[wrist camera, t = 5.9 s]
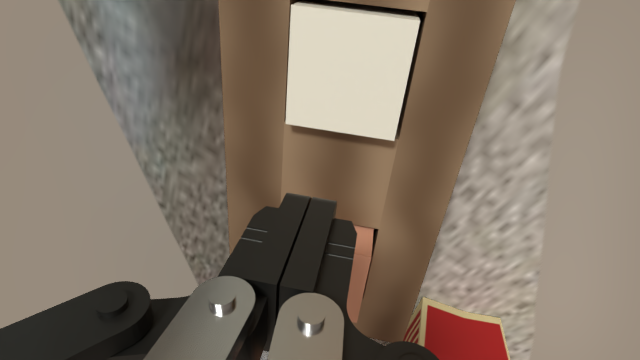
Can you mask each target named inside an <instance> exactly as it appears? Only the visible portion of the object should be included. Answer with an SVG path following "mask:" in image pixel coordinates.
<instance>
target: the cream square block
mask: <svg viewBox="0 0 640 360" xmlns="http://www.w3.org/2000/svg"><path fill="white" fill-rule="evenodd" d="M419 24H420V19H419V16H418V14H417V12H416V11H413V10H405V9H396V8H388V7H380V6H371V5H363V4H355V3H347V2H338V1H330V0H302V1H299V2H297V3H294V4H292V5H291V17H290V38H289V60H288V81H287V102H286V124H289V125H296V126H302V127H308V128H315V129H321V130H327V131H334V132H340V133H347V134H353V135H359V136H366V137H372V138H378V139H385V140H391V141H394V140H395V135H396V131H397V126H398V122H399V117H400V112H401V108H402V103H403V98H404V94H405V89H406V85H407V80H408V75H409V71H410V66H411V61H412V57H413V52H414V47H415V43H416V38H417V34H418V29H419Z"/></svg>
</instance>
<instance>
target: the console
mask: <svg viewBox="0 0 640 360" xmlns="http://www.w3.org/2000/svg"><path fill="white" fill-rule="evenodd" d="M299 1H302V0H218V5H219V27H220V49H221V71H222V93H223V115H224V137H225V159H226V181H227V203H228V225H229V247H230V255H231V253H232V251H233V250H234V248H235V246H236V244H237V243H238V241H239V239H241V236H242V234H243V232H244V231H245V229H246V228H247V225H248V224H249V222H250V220H251V219H252V217H253V215H254V214H256V213H257V212H258V211H260V210H261V209H263V208H264V207H266V206H269V207H275V208H279V207H280V205H281V202H282V200H283V198H284V196H285V194H286V193H293V194H299V195H304V196H310V197H311V198H312V197H316V198H322V199H328V200H334V201H337V209H336V216H335V218H337V219H343V220H348V221H352V223H353V225H359V226H364V227H370V228H374V232H373V244H372V255H371V261H370V266H369V270H368V275H367V280H366V284H365V289H364V293H363V298H362V302H361V307H360V311H359V316H358V320H357V323H354V322H352V323H353V325H354V326H355V327H356V328H357V329H358V330H359V331H360V332H361V333H362V334H364V335H365V336H367V337H369V338H373V339H378V340H383V341H387V342H392V343H393V342H398V341H403V339H404V336H405V333H406V330H407V327H408V324H409V321H410V318H411V315H412V312H413V309H414V306H415V303H416V300H417V297H418V294H419V291H420V288H421V285H422V282H423V279H424V276H425V273H426V270H427V267H428V264H429V261H430V258H431V255H432V252H433V249H434V246H435V243H436V240H437V237H438V234H439V231H440V228H441V225H442V222H443V219H444V216H445V213H446V210H447V207H448V204H449V201H450V198H451V194H452V191H453V188H454V185H455V182H456V179H457V176H458V173H459V170H460V167H461V164H462V161H463V158H464V155H465V152H466V149H467V146H468V143H469V140H470V137H471V134H472V131H473V128H474V125H475V122H476V119H477V116H478V113H479V110H480V107H481V104H482V101H483V98H484V95H485V92H486V89H487V86H488V83H489V80H490V77H491V74H492V71H493V68H494V65H495V62H496V59H497V56H498V53H499V50H500V47H501V44H502V41H503V37H504V34H505V31H506V28H507V25H508V22H509V19H510V16H511V13H512V10H513V7H514V4H515V1H516V0H330V1H338V2H347V3H355V4H363V5H371V6H380V7H388V8H396V9H405V10H413V11H416V12H417V14H418V16H419V19H420V24H419V29H418V34H417V38H416V43H415V47H414V52H413V57H412V61H411V66H410V71H409V75H408V80H407V85H406V89H405V94H404V98H403V103H402V108H401V112H400V117H399V122H398V126H397V131H396V135H395V140H394V141H391V140H385V139H378V138H372V137H366V136H359V135H353V134H347V133H340V132H334V131H327V130H321V129H315V128H308V127H302V126H296V125H289V124H286V102H287V81H288V60H289V38H290V17H291V5H292V4H294V3H297V2H299Z"/></svg>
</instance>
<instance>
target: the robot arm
mask: <svg viewBox="0 0 640 360" xmlns="http://www.w3.org/2000/svg"><path fill="white" fill-rule="evenodd" d="M336 209H337V201H334V200H328V199H322V198H316V197H312V198H311V197H310V196H304V195H299V194H293V193H286V194H285V196H284V198H283V200H282V202H281V205H280V207H279V208H275V207H269V206H266V207H264V208H263V209H261V210H260V211H258V212H257V213H256V214H254V215H253V217H252V219H251V220H250V222H249V224H248V225H247V228H246V229H245V231H244V232H243V234H242V236H241V239H239V241H238V243H237V244H236V246H235V248H234V250H233V251H232V253H231V255H230V257H229V258H228V260H227V262H226V263H225V265H224V267H223V269H222V270H221V272H220V274H219V275H218V277H215V278H212V279H209V280H207V281H205V282H204V283H202V284H201V285H199V286H198V287H197V288H196V289H195V290H194V291H193V293H192V294H191V295H190V296H186V297H180V298H167V299H152V300H151V299H150V295H149V293H148V291H147V289H146V288H145V287H143V286H142V285H140V284H138V283H134V282H128V281H125V282H115V283H111V284H108V285H105V286H102V287H100V288H97V289H95V290H92V291H90V292H88V293H85V294H83V295H81V296H78V297H76V298H73V299H71V300H69V301H66V302H64V303H61V304H59V305H57V306H54V307H52V308H49V309H47V310H45V311H42V312H40V313H37V314H35V315H33V316H30V317H28V318H25V319H23V320H21V321H18V322H16V323H13V324H11V325H9V326H6V327H4V328H1V329H0V360H260V358H261V355H262V352H263V350H264V351H269V354H268V358H267V360H439V359H438V357H437V356H436V355H435V354H433V353H432V352H431V351H430V350H428V349H427V348H425V347H423V346H421V345H419V344H416V343H413V342H407V341H398V342H393V343H391V344H388V345H387V346H383V345H381V344H379V343H377V342H375V341H373V340H372V339H370V338H368V337H367V336H365V335H364V334H362V333H361V332H360V331H359V330H358V329H357V328H356V327H355V326H354V325H353V323H352V322H351V320H350V318H349V315H348V312H347V298H348V292H349V285H350V279H351V272H352V265H353V259H354V252H355V246H356V239H357V232H356V230H355V227H354V225H353V223H352V221H348V220H343V219H337V218H335V216H336Z"/></svg>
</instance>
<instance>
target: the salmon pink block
mask: <svg viewBox="0 0 640 360" xmlns="http://www.w3.org/2000/svg"><path fill="white" fill-rule="evenodd" d="M354 227H355V230H356V232H357V239H356V246H355V252H354V259H353V265H352V272H351V279H350V285H349V292H348V298H347V312H348V315H349V318H350V320H351V322H354V323H357V320H358V316H359V311H360V307H361V302H362V298H363V293H364V289H365V284H366V280H367V275H368V270H369V266H370V261H371V255H372V244H373V232H374V228H370V227H364V226H359V225H354Z"/></svg>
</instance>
